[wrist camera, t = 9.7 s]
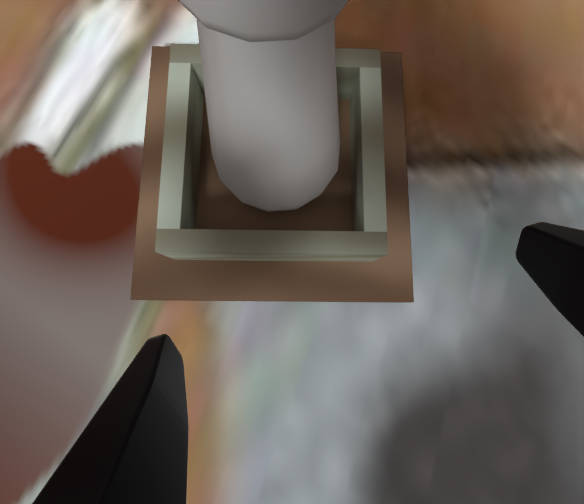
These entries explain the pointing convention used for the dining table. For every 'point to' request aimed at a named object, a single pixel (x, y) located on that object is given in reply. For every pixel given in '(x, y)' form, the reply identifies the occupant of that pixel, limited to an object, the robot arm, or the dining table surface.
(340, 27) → the dining table surface
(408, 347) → the dining table surface
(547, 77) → the dining table surface
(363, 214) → the stand
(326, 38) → the salt shaker
